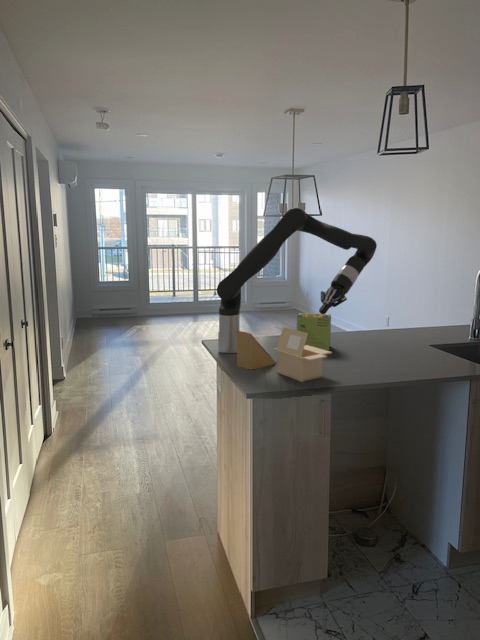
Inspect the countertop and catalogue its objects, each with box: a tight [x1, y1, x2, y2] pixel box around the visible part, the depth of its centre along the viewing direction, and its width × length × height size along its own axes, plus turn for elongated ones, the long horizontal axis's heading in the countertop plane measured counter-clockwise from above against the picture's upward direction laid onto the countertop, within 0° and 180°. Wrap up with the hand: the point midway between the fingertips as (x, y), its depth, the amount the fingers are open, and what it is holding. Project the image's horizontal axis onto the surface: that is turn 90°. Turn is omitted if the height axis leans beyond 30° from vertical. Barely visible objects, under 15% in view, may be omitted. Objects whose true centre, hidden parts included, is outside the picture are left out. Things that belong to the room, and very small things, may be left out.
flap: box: [276, 326, 308, 357], centre depth 182 cm, size 14×9×1 cm
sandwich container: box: [236, 330, 278, 371], centre depth 200 cm, size 9×15×15 cm, turn 131°
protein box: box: [296, 312, 332, 351], centre depth 228 cm, size 10×15×16 cm
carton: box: [274, 345, 333, 383], centre depth 187 cm, size 20×15×9 cm
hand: (321, 312), depth 189 cm, fingers closed
